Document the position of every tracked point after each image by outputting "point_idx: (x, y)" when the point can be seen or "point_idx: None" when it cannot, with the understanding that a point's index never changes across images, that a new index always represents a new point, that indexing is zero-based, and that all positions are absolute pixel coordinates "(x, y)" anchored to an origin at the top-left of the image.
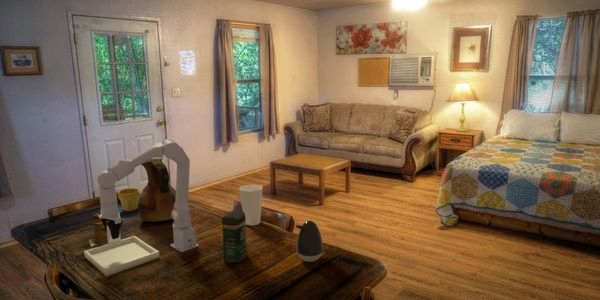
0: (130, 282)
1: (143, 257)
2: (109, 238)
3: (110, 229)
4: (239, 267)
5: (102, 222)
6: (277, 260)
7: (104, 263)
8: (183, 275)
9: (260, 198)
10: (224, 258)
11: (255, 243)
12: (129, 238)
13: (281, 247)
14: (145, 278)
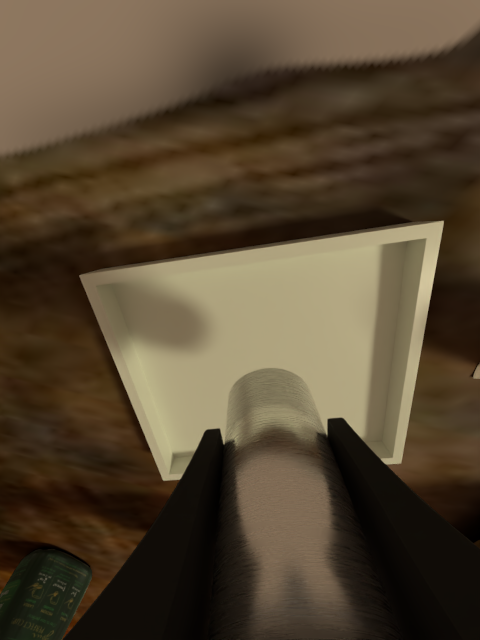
0: (5, 335)
1: (145, 431)
2: (247, 414)
3: (126, 562)
4: (5, 551)
5: (464, 622)
6: None
7: (227, 291)
8: (3, 465)
9: None
10: (34, 560)
11: None
12: (393, 442)
13: (76, 617)
14: (21, 383)
